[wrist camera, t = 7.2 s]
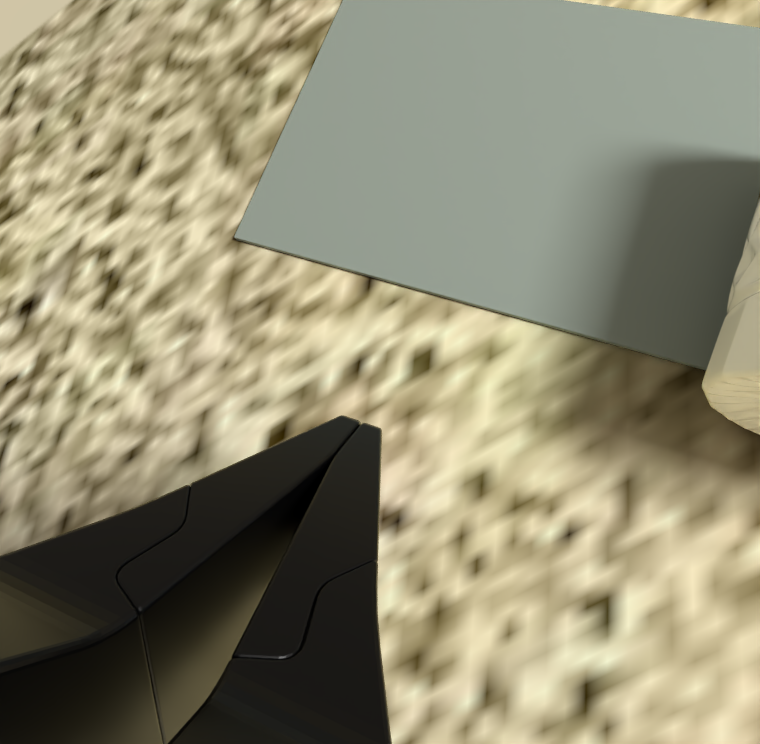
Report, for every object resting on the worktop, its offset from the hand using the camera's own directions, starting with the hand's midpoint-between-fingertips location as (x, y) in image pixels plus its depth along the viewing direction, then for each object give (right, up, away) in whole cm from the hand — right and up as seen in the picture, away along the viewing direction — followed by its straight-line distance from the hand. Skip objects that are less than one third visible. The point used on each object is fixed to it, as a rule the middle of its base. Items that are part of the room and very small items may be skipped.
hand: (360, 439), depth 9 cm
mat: (+5, +10, +9) cm, 15 cm away
